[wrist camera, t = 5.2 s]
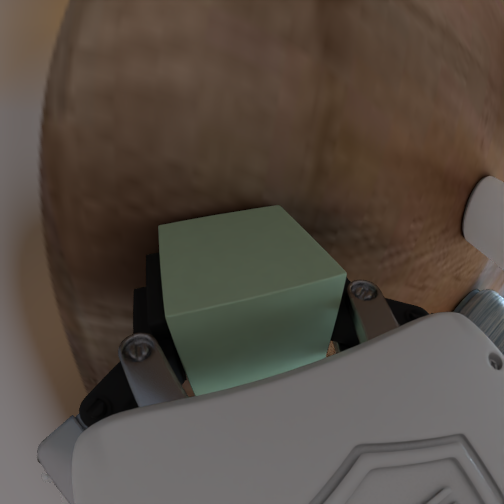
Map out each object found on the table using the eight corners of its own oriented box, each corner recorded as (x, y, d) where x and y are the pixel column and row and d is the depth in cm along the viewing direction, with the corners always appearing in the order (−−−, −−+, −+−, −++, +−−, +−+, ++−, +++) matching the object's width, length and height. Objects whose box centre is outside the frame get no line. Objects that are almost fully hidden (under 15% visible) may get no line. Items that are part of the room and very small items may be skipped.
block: (180, 316, 13) (199, 406, 9) (158, 225, 10) (164, 316, 6) (276, 294, 14) (321, 370, 10) (279, 204, 11) (348, 272, 7)
